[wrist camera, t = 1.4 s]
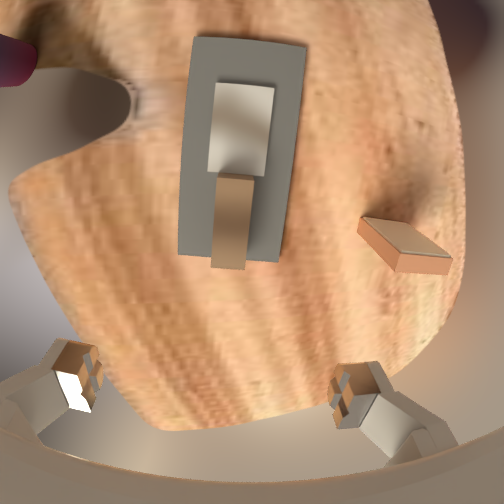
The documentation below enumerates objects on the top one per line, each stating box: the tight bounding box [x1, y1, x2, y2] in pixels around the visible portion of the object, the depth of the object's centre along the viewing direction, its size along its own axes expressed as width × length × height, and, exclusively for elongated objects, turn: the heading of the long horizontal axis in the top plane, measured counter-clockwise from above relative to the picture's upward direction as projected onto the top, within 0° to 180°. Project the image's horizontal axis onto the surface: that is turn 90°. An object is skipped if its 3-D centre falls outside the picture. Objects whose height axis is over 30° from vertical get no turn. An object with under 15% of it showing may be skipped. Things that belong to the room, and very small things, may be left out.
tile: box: [357, 217, 453, 275], centre depth 27 cm, size 2×6×9 cm, turn 84°
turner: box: [207, 83, 274, 270], centre depth 26 cm, size 16×5×3 cm, turn 174°
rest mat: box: [178, 37, 306, 262], centre depth 27 cm, size 21×10×1 cm, turn 174°
